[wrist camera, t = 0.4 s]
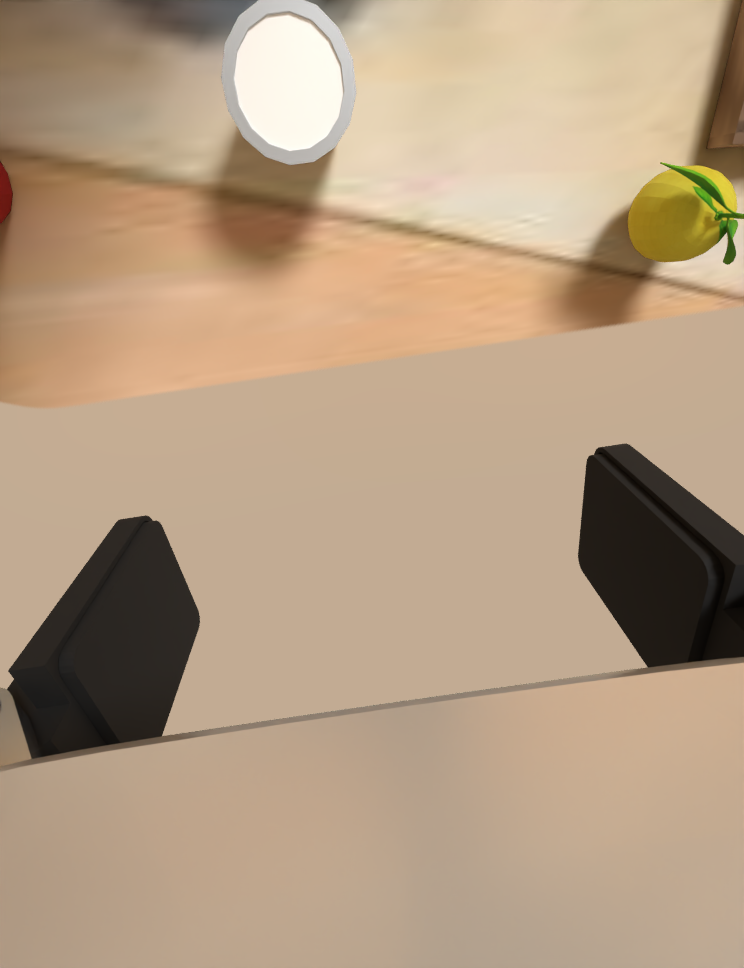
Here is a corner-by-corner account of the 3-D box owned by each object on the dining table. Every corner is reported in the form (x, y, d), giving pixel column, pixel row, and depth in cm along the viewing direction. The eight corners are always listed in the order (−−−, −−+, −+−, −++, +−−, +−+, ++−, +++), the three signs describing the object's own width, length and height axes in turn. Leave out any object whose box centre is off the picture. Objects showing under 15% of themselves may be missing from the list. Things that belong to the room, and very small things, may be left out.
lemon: (603, 171, 33) (696, 156, 25) (689, 149, 33) (814, 126, 24) (602, 273, 37) (684, 292, 28) (680, 254, 36) (787, 268, 28)
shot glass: (374, 118, 31) (383, 95, 25) (298, 198, 33) (289, 195, 27) (299, 7, 28) (289, -49, 22) (221, 101, 30) (191, 73, 24)
